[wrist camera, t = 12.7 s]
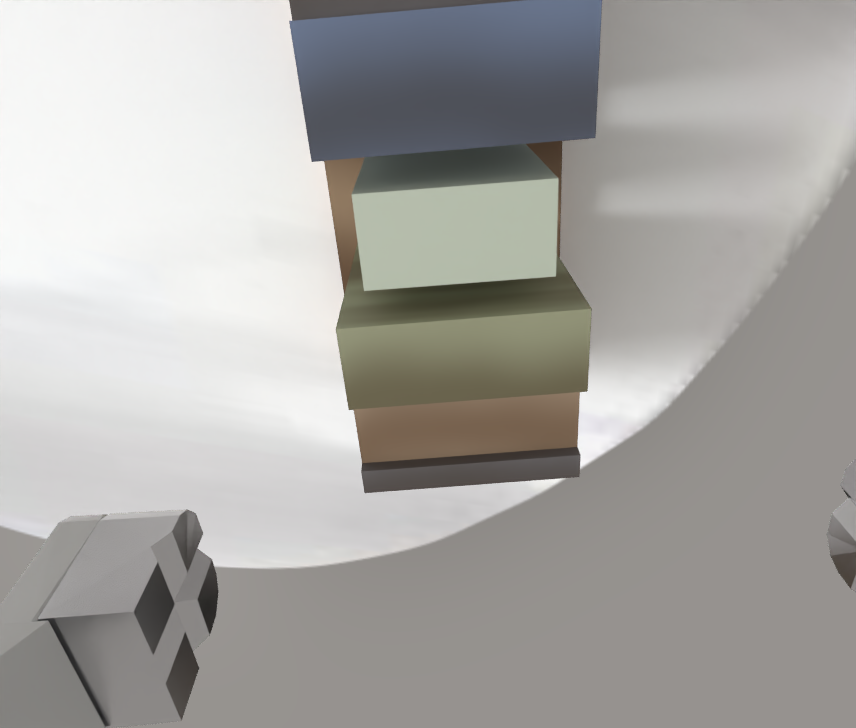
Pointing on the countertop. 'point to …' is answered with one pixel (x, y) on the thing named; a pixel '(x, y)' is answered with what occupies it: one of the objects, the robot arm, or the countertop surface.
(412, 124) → the book rack
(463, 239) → the pale green box
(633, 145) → the countertop surface
